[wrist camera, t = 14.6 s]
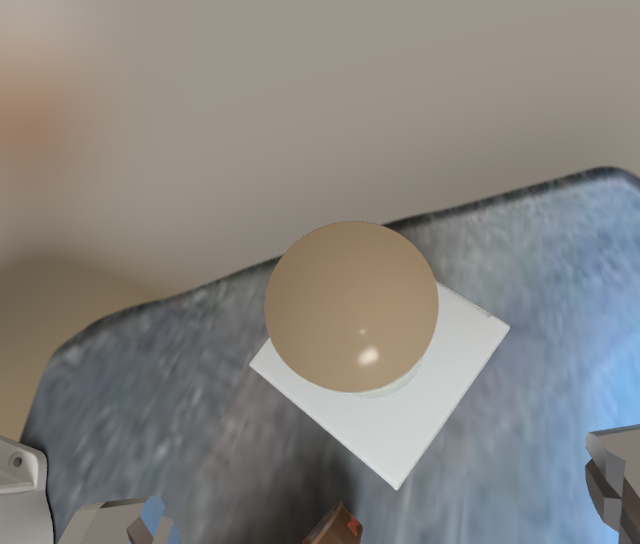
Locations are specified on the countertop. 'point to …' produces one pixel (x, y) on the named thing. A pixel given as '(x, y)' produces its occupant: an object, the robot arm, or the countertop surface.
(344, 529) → the tin
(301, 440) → the countertop surface
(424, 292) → the jar
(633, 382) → the countertop surface
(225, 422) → the countertop surface
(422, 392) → the supplement box
